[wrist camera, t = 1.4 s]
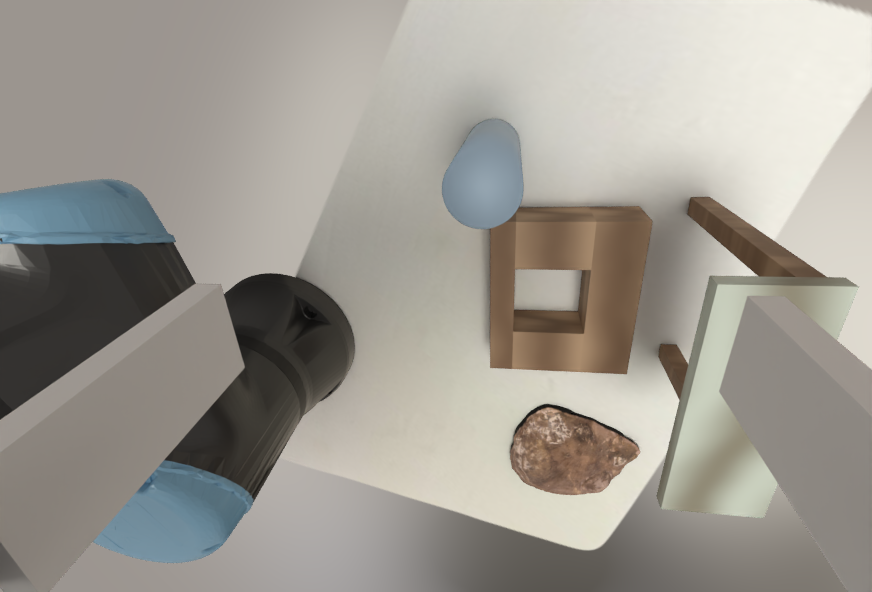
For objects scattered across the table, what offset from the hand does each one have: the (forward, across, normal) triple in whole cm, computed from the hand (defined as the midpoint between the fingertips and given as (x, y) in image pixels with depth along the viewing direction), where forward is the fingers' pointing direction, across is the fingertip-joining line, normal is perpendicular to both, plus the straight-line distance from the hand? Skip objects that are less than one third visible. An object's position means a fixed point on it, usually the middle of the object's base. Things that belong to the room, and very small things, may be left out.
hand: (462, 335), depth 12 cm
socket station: (+28, +9, -12) cm, 32 cm away
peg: (+28, 0, 0) cm, 29 cm away
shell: (+29, +8, -33) cm, 45 cm away
